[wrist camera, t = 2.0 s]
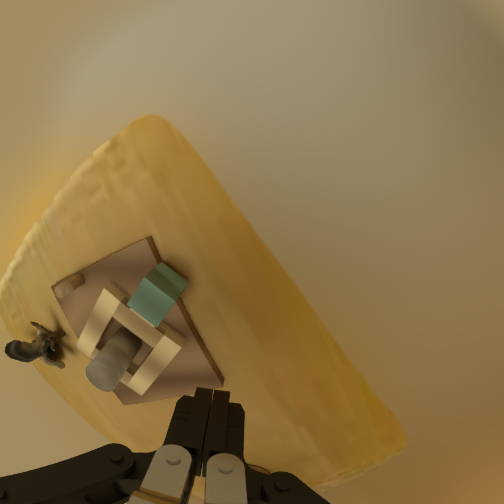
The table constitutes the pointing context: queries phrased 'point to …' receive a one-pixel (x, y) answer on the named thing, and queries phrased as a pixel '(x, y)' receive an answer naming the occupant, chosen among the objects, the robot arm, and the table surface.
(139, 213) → the table surface
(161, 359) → the square frame with handle
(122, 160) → the table surface
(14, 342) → the brown squirrel figurine
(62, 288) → the dowel pin
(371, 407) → the table surface
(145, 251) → the post board
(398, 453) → the table surface
